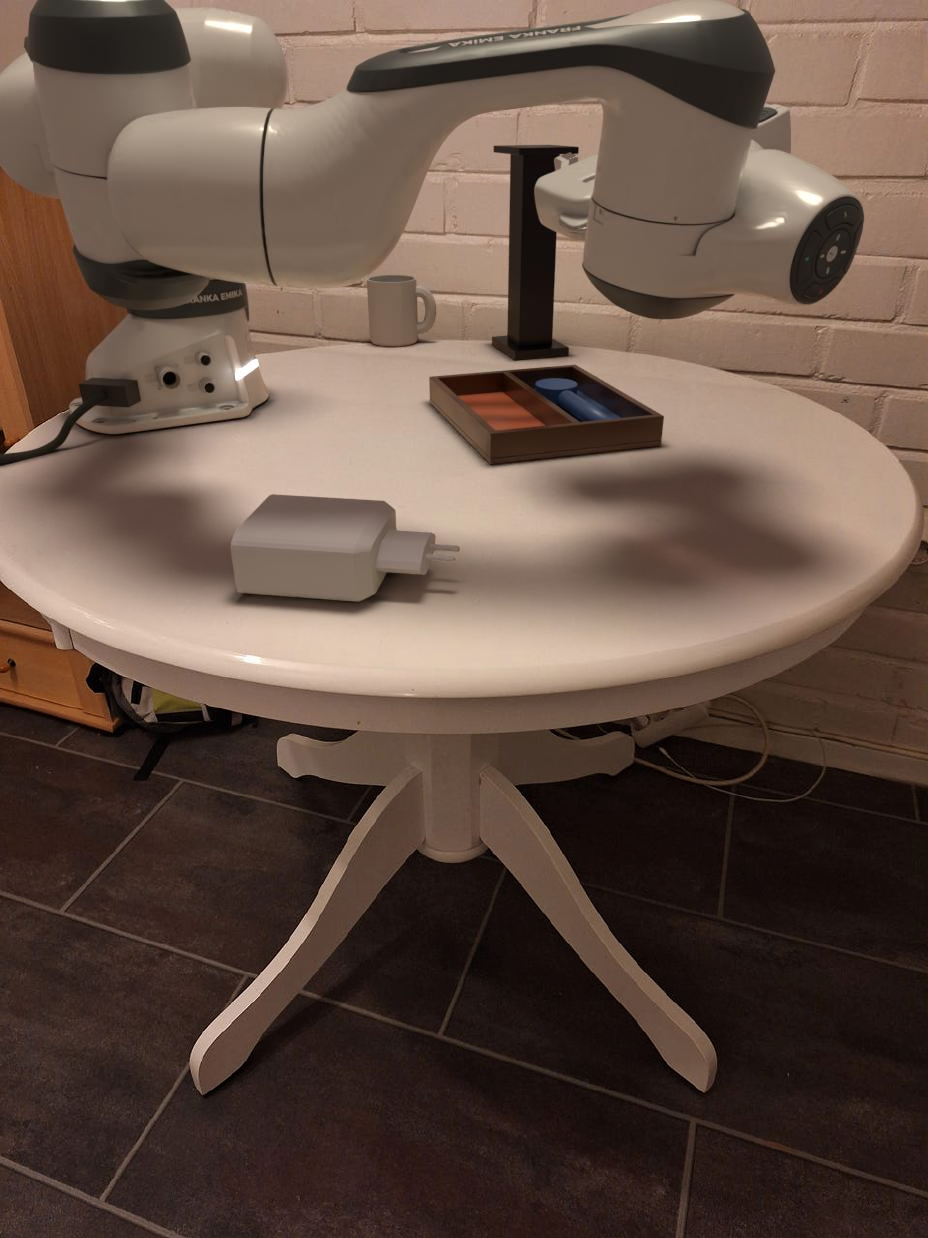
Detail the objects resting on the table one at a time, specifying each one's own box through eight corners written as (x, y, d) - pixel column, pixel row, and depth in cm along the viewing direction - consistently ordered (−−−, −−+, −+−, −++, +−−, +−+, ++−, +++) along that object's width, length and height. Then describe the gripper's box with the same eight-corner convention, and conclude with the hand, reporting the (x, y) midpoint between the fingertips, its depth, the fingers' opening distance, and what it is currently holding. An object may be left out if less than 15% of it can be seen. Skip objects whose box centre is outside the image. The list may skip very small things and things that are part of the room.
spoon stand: (568, 355, 127) (579, 146, 114) (514, 360, 125) (519, 147, 112) (542, 341, 135) (549, 144, 123) (491, 344, 133) (493, 145, 121)
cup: (374, 335, 139) (371, 274, 135) (439, 336, 138) (438, 274, 134) (366, 346, 133) (362, 282, 128) (434, 347, 132) (432, 282, 128)
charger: (446, 615, 62) (236, 599, 64) (467, 557, 70) (280, 545, 72) (445, 551, 59) (228, 537, 62) (467, 499, 67) (274, 488, 70)
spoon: (633, 437, 92) (635, 418, 91) (590, 442, 91) (591, 423, 90) (566, 393, 107) (567, 376, 106) (528, 397, 106) (529, 379, 105)
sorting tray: (661, 445, 93) (664, 415, 91) (490, 464, 88) (490, 433, 86) (574, 389, 112) (575, 364, 110) (429, 402, 107) (429, 376, 105)
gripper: (585, 275, 72) (511, 222, 82) (803, 181, 74) (707, 140, 84) (574, 196, 67) (497, 150, 77) (807, 98, 70) (705, 65, 80)
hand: (608, 144), depth 81 cm, fingers open, 8 cm apart
